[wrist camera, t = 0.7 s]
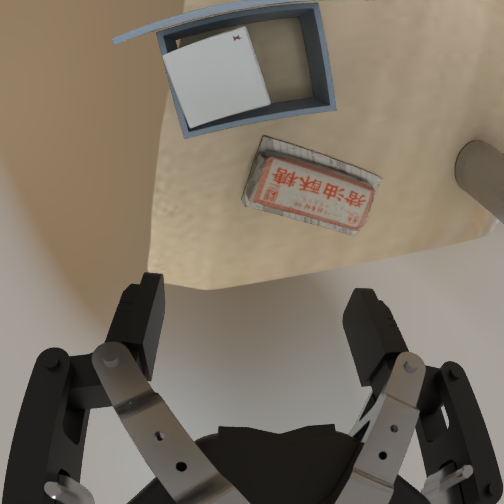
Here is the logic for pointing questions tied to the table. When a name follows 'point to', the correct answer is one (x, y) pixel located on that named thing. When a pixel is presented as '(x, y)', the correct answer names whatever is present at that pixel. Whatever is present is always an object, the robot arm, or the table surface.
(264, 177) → the packaged product
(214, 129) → the open blue-gray box
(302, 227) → the table surface
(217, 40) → the supplement box
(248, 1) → the lid
